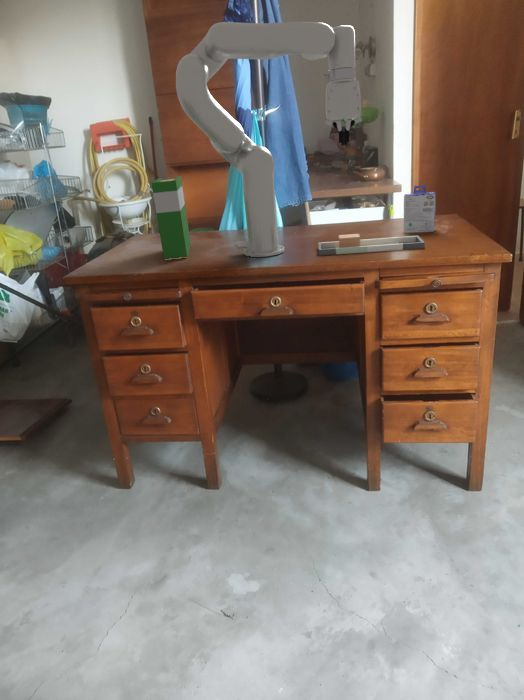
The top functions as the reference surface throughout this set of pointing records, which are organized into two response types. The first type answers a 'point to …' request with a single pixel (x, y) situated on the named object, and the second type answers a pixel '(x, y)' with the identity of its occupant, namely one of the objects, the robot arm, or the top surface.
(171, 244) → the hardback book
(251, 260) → the top surface
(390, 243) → the track
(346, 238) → the terracotta block
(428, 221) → the ink cartridge box
